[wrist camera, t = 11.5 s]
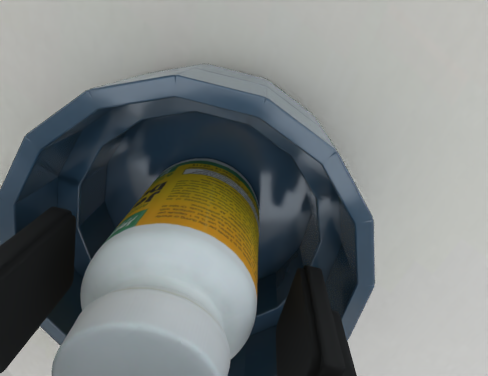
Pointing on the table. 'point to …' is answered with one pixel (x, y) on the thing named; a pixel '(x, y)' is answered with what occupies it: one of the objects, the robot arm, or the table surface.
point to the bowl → (198, 146)
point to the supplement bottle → (171, 281)
